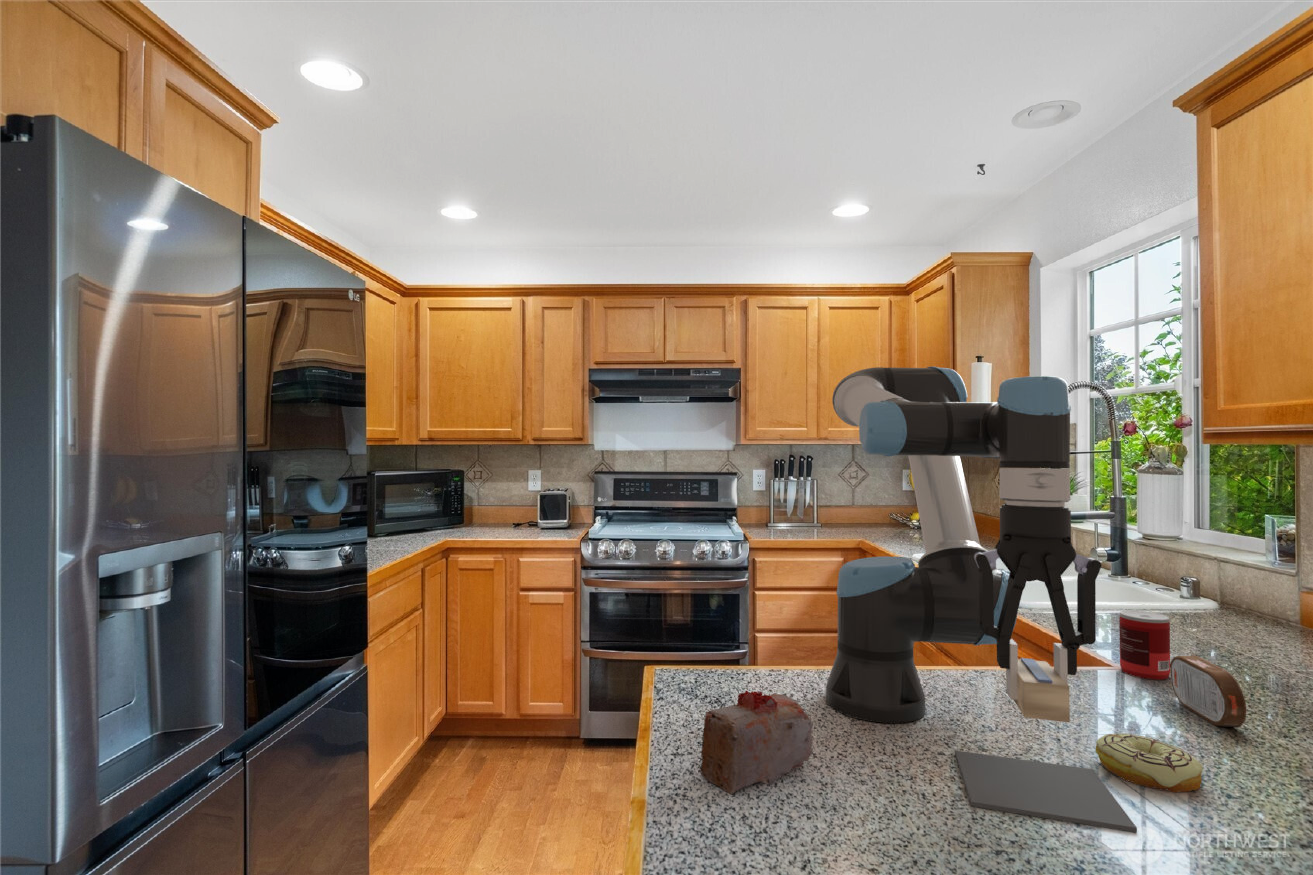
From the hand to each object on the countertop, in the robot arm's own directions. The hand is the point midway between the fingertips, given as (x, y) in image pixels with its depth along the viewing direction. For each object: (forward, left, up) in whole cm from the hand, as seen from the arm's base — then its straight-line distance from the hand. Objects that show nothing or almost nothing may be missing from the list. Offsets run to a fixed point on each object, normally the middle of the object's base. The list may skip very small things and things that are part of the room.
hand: (1036, 698), depth 79 cm
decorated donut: (+15, +9, -11) cm, 21 cm away
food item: (-33, -7, -11) cm, 35 cm away
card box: (0, 0, -1) cm, 1 cm away
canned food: (+31, +57, -11) cm, 66 cm away
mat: (0, 0, -11) cm, 11 cm away
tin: (+31, +36, -11) cm, 49 cm away
